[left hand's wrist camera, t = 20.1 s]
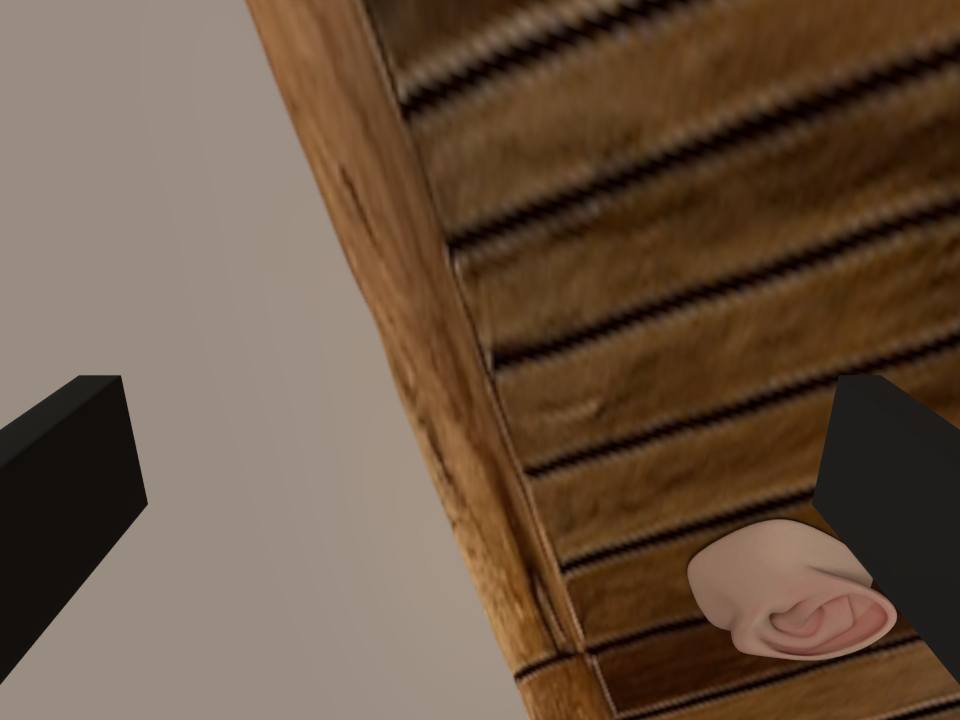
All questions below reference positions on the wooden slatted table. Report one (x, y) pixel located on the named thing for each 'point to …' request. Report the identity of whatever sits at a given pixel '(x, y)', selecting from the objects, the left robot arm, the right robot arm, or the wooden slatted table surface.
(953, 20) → the wooden slatted table surface
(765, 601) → the anatomical model
